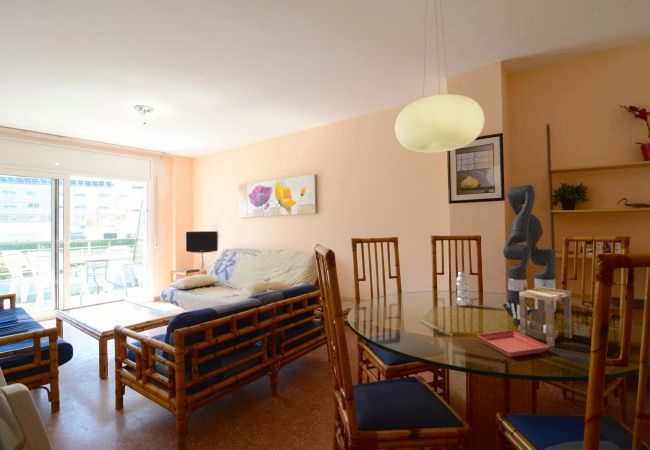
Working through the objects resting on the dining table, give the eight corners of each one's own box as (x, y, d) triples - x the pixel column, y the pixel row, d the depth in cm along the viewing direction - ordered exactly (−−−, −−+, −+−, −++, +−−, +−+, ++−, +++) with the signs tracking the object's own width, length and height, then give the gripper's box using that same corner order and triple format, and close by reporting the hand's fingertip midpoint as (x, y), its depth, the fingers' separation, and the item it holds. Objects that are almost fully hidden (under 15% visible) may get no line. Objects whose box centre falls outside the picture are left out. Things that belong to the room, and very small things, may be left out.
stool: (540, 329, 144) (539, 286, 144) (571, 337, 134) (570, 291, 134) (520, 337, 136) (519, 292, 135) (552, 347, 125) (551, 297, 125)
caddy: (527, 328, 145) (528, 304, 144) (557, 337, 134) (558, 312, 134) (518, 332, 141) (518, 307, 140) (548, 342, 130) (549, 315, 130)
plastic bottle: (470, 307, 183) (469, 272, 183) (457, 307, 184) (456, 272, 184) (467, 304, 189) (466, 270, 189) (455, 304, 191) (454, 270, 190)
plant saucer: (550, 354, 120) (550, 345, 120) (509, 360, 116) (509, 351, 116) (512, 337, 137) (512, 329, 137) (476, 342, 133) (475, 334, 133)
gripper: (498, 287, 148) (499, 324, 148) (528, 292, 136) (529, 332, 137) (507, 285, 152) (508, 321, 152) (537, 290, 140) (538, 329, 140)
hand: (518, 326), depth 144 cm, fingers closed
